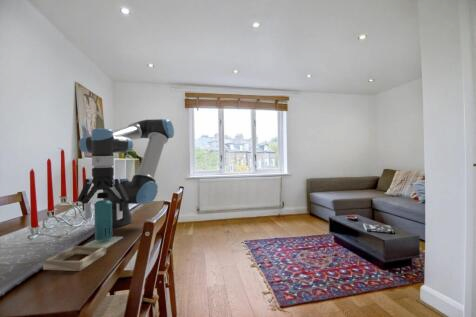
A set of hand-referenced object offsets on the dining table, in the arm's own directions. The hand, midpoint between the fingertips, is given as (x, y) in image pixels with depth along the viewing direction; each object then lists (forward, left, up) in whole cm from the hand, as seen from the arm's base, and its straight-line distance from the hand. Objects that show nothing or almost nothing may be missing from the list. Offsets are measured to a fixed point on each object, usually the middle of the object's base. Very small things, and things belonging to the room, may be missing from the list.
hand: (103, 218), depth 89 cm
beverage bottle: (0, 0, -9) cm, 9 cm away
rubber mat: (0, 0, -9) cm, 10 cm away
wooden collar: (+16, +2, -9) cm, 19 cm away
